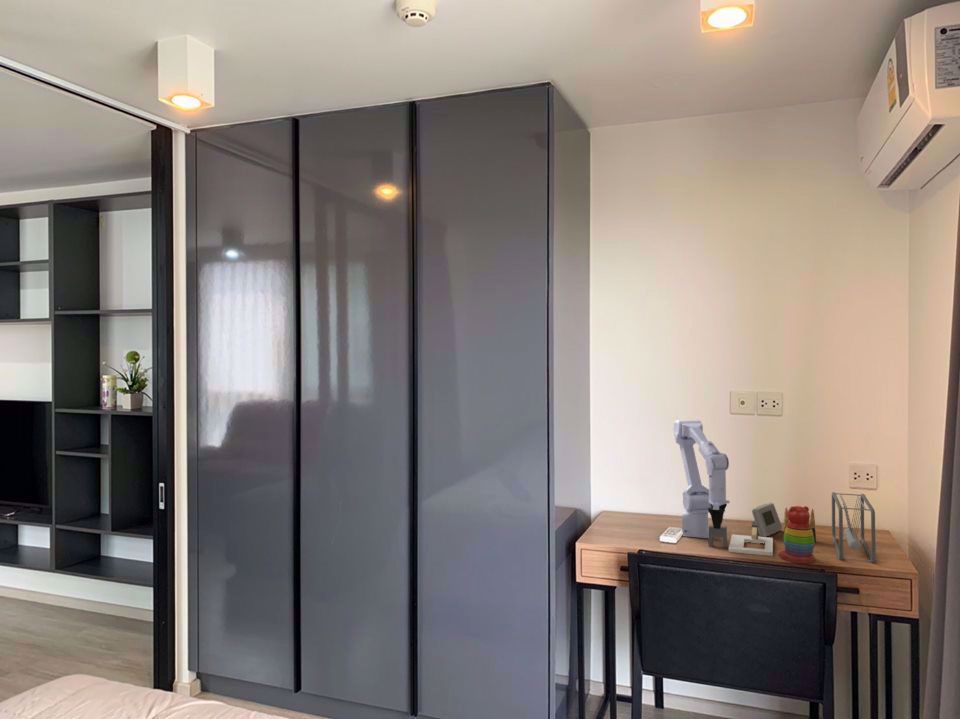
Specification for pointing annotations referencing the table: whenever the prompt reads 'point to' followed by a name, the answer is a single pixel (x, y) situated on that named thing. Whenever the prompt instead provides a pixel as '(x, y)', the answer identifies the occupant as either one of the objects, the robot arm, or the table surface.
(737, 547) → the white slotted board
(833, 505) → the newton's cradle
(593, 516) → the table surface
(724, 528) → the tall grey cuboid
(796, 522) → the stacking bear
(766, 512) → the digital clock
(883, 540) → the table surface
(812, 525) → the ammunition clip
